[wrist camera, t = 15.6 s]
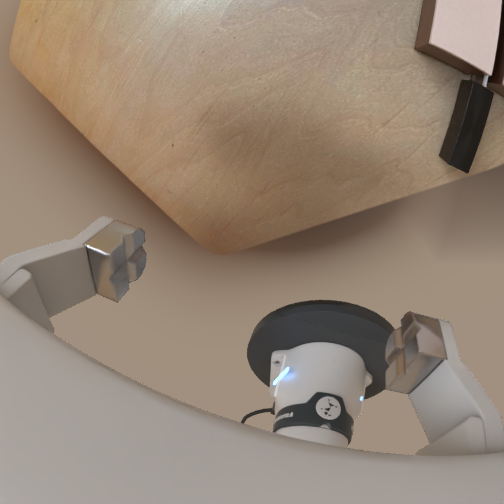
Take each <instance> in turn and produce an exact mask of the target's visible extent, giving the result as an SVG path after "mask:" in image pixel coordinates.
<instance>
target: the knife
mask: <svg viewBox="0 0 504 504" xmlns="http://www.w3.org/2000/svg"><path fill="white" fill-rule="evenodd" d="M488 77H489V76H488V75H472V78H471V80H462V82H461V86H460V90H459V93H458V97H457V101H456V104H455V108H454V111H453V115H452V118H451V121H450V124H449V128H448V131H447V134H446V137H445V140H444V143H443V146H442V149H441V151H440V154H439V156H440V157H441V158H442V159H443V160H444V161H445V162H446V163H448V164H449V165H451V166H453V167H455V168H457V169H459V170H461V171H463V172H465V173H468V172H469V170H470V167H471V165H472V162H473V159H474V157H475V154H476V151H477V148H478V145H479V142H480V139H481V136H482V133H483V130H484V127H485V124H486V120H487V117H488V114H489V110H490V106H491V103H492V99H493V95H494V93H493V92H492V91H490V90H488V89H487V88H486V85H487V81H488Z"/></svg>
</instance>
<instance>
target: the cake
mask: <svg viewBox="0 0 504 504" xmlns="http://www.w3.org/2000/svg"><path fill="white" fill-rule="evenodd" d="M415 49H416V50H418V51H421V52H423V53H425V54H427V55H430V56H432V57H434V58H436V59H438V60H440V61H442V62H444V63H446V64H448V65H450V66H452V67H454V68H456V69H458V70H460V71H462V72H464V73H466V74H469V75H488V76H489V77H488V81H487V85H486V86H488V87H489V88H491V89H493V90H494V91H496V92H497V93H499V94H500V95H502V96H503V97H504V0H423V6H422V12H421V18H420V23H419V29H418V34H417V39H416V44H415Z"/></svg>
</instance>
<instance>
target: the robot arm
mask: <svg viewBox="0 0 504 504" xmlns="http://www.w3.org/2000/svg"><path fill="white" fill-rule="evenodd" d="M144 242H145V232H144V231H143V230H142V229H141V228H138V227H135V226H132V225H130V224H127V223H124V222H121V221H118V220H115V219H112V218H109V217H106V216H105V217H100V218H99V219H98V220H96V221H95V222H94V223H92V224H91V225H90V226H89V227H87V228H86V229H84V230H83V231H82V232H81V233H79V234H78V235H77V236H75V237H74V238H73V239H72V240H69V239H66V240H62V241H58V242H55V243H51V244H48V245H45V246H41V247H38V248H34V249H31V250H28V251H24V252H21V253H18V254H15V255H12V256H9V257H7V258H6V259H4V260H3V261H2V262H1V263H0V504H504V429H503V422H502V416H501V415H500V413H499V412H498V410H497V409H496V407H495V406H494V404H493V403H492V401H491V400H490V398H489V397H488V395H487V394H486V393H485V391H484V390H483V388H482V387H481V385H480V384H479V383H478V381H477V380H476V379H475V377H474V376H473V374H472V373H471V371H470V370H469V369H468V368H467V366H466V365H465V364H464V363H461V360H460V355H459V351H458V347H457V343H456V339H455V335H454V331H453V327H452V325H451V323H450V322H449V321H444V320H441V319H437V318H436V319H435V318H431V317H428V316H424V315H421V314H417V313H414V312H410V311H409V312H407V313H406V314H405V315H404V317H403V318H402V319H401V324H402V326H401V327H399V328H398V329H395V330H394V331H393V332H392V334H391V335H390V337H389V339H388V342H387V344H386V348H385V360H386V362H387V363H388V365H389V367H388V369H387V370H386V371H385V387H386V390H391V391H395V392H400V393H405V394H409V395H408V396H409V399H410V400H411V402H412V405H413V407H414V409H415V411H416V414H417V416H418V418H419V420H420V422H421V425H422V427H423V429H424V432H425V434H426V436H427V438H428V440H429V443H430V444H429V445H427V446H425V447H424V448H422V449H420V450H419V451H418V452H417V453H416V455H403V454H390V453H381V452H371V451H364V450H356V449H350V448H347V446H348V445H349V443H350V442H351V437H352V435H353V423H354V419H356V418H357V417H358V416H360V415H361V413H362V408H363V401H364V394H365V388H366V387H367V386H368V385H370V384H371V383H372V379H373V377H372V375H371V374H370V373H369V372H368V371H367V370H366V368H365V364H364V361H363V359H362V358H361V356H360V355H359V354H358V353H356V352H355V351H353V350H352V349H350V348H348V347H345V346H342V345H339V344H334V343H327V342H314V343H307V344H303V345H300V346H297V347H295V348H292V349H289V350H278V351H274V352H273V353H272V356H271V373H270V396H272V397H273V398H274V399H276V400H275V402H274V404H273V408H269V409H262V410H258V411H254V412H252V413H249V414H247V415H246V416H245V417H244V418H243V419H242V421H241V423H239V422H237V421H233V420H230V419H227V418H225V417H222V416H219V415H216V414H213V413H210V412H208V411H205V410H202V409H200V408H197V407H194V406H192V405H189V404H187V403H184V402H182V401H179V400H177V399H175V398H172V397H170V396H168V395H165V394H163V393H161V392H159V391H156V390H154V389H152V388H150V387H147V386H146V385H143V384H141V383H139V382H137V381H135V380H133V379H131V378H129V377H127V376H125V375H123V374H121V373H119V372H117V371H115V370H114V369H111V368H110V367H108V366H106V365H104V364H103V363H101V362H99V361H97V360H95V359H94V358H92V357H90V356H88V355H87V354H85V353H83V352H82V351H80V350H78V349H77V348H75V347H73V346H72V345H70V344H69V343H67V342H65V341H64V340H62V339H61V338H59V337H58V336H56V335H55V334H53V333H54V327H53V325H52V323H51V321H50V319H49V318H50V317H52V316H54V315H56V314H58V313H60V312H62V311H64V310H66V309H68V308H70V307H72V306H74V305H76V304H78V303H80V302H82V301H85V300H87V299H89V298H90V297H92V296H95V295H96V293H97V294H99V295H101V296H103V297H106V298H108V299H110V300H113V301H115V302H118V301H119V300H120V299H121V298H122V297H123V296H124V294H125V293H126V292H127V291H128V290H129V283H130V282H133V281H136V280H137V279H138V278H139V277H140V276H141V274H142V272H143V270H144V268H145V264H146V252H145V250H144V249H143V247H142V244H143V243H144ZM263 412H271V414H273V415H276V419H275V421H274V424H273V432H270V431H266V430H263V429H259V428H256V427H252V426H249V425H246V424H244V422H245V421H246V419H247V418H249V417H251V416H253V415H256V414H259V413H263Z"/></svg>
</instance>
